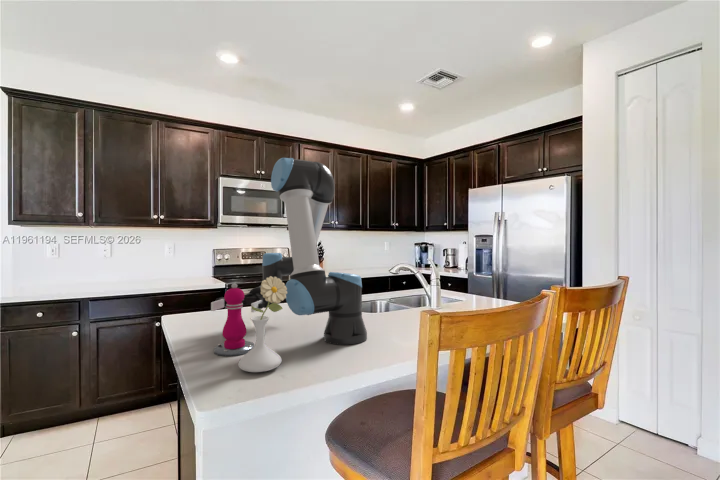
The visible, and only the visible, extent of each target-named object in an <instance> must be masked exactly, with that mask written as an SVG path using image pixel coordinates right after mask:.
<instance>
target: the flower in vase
mask: <svg viewBox="0 0 720 480" xmlns="http://www.w3.org/2000/svg"><path fill="white" fill-rule="evenodd" d="M285 285H286V283H284V282H283V279H282V280H280V279H279V278H278V279H277V277H274V278H273V277H272V276H270V277H269V278H266V280H264V281H263V280H262V281H261V284H260V286H262V287H261V292H260V293H261V294H262V295H263V297H264V298H265V300H266V301H269V302H271V303H272V304H271V305H269V302H268V305H267V307H266V308H264V310H263V309H257V308H255V307H253V306H252V309H253V310H255V311H256V312H259V313H262V315H256V316H255V315H254V316H252V317H250V320H251V322H252V323H253V327H254V329H255V331H254V332H255V343H254V347H253V348H252V349H251V350H250V351H249V352H248V353H246V354H243V355H242V357H241V358H240V360H239V362H238V364H237V365H238V367H239V369H240V370H242V371H244V372H249V373H263V372H267V371H268V372H269V371H271V370H274V369H276V368H277V367H279V366H280V365H281V363H282V362H283V361H282V357H281V355H279V354H278V353H277V352H276V351H274V350H273V349H271V348H270V347H269V346H268V345H267V344H266V342H265V332H266V331H265V330H266V325H267V322H268V320H269V319H270V316H267V315H265V314H266V311H267V310H268V309H269V310H270V311H271V312H273V313H277V312H280V311H281V310H283V306H282V305H280V303H281V302H282V301H284V300H286V294H287V291H286V290H287V288H286V286H285Z"/></svg>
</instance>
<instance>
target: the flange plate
mask: <svg viewBox="0 0 720 480" xmlns="http://www.w3.org/2000/svg"><path fill="white" fill-rule="evenodd" d="M254 346H255V343H254V342H253V341H249V340H245V346H244V347H241V348H237V349H226V348H225V347H224V342H223V343H218V344H217V345H216V346H214V348H213V349H214V350H213V353H214V355H216V356H217V357H238V356H244V355H245V354H246V353H248V352H249V351H250V350H251V349H252V348H253V347H254Z"/></svg>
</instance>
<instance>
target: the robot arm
mask: <svg viewBox="0 0 720 480" xmlns="http://www.w3.org/2000/svg"><path fill="white" fill-rule="evenodd" d="M270 183H271V184H270V185H271V188H272V190H273V191H274V192H276V193H278V196H279V199H280V200H281V201H282V202H283V203H284V206H285V213H286V221H287V229H288V236H289V242H290V243H289V244H290V251H291V252H290V253H291V256H283V254H282V252H266V253H264V254H263V255H262V263H261V265H262V268H261V269H262V281H264V280H266V278H269V277H270V276H272V277H273V278H274V277H277V279H278V278H279V279H280V280H282V281H283V277H284V276H285V277H286V276H287V277H288V276H289V280H287V282H286V283H285V285H284V286H286V288H287V290H286V291H287V294H286V298H285V301H286V303H287V306H288V309H290V310H291V312H292V313H293V314H295V315H296V316H310V315H314V314H321V313H322V314H323V313H328V318H327V321H326V326H325V327H324V331H323V340H324V342H326V343H329V344H333V345H344V346H345V345H354V344H355V345H356V344H361V343H364V342H365V341H367V339H368V331H367V328H366V325H365V321H364V319H363V298H362V297H363V296H362V295H363V292H362V291H363V283H362V277H361V276H360V275H359V274H356V273H348V272H336V271H329V272H328V274H327V275H326V271H325V269H324V268H323V267H321V265H320V259H319V253H318V246H317V244H318V240H319V237H320V234H321V231H322V227H323V224H324V220H325V219H326V218H325V217H326V214H327V210H328V208H329V205H330V204H332V203H333V200H334V197H335V190H336V189H335V188H336V187H335V179H334V176H333V173H332V172H331V169H329V168H328V167H327V166H326V165H325V164H324V163H321V162H320V161H311V160H304V159H296V158H294V157H281V158H279V159H278V160H277V161H276V162H275V163H274V165H273V168H272V171H271V177H270ZM261 287H262V286H261V285H259V286H256V287H253V288H252V289H251V290H249V292H248V293H246V294H244V299H243V301H242V303H243V305H242V306H247V305H248V306H250V309H251V310H250V313H255V312H257V311H255V310H253V309H252V306H253V307H255V308H257V309H261V310H263V309H266V307H267V305H268V302H269V301H266V300H265V298H264V297H263V295H262V294H261V293H260V292H261ZM226 304H227V302H226V301H225V299H224V297H223V296H221V297H217V298H216V299H215V301H212V302H210V311H211V312H215V311H216V310H220V309H221V310H222V309H223V308H225V307H226ZM271 304H272V303H271V302H269V305H271Z"/></svg>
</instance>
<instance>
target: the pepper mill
mask: <svg viewBox="0 0 720 480" xmlns="http://www.w3.org/2000/svg"><path fill="white" fill-rule="evenodd" d="M244 292H245V291H243V289H241V288H239V287H238V284H237V283H235V282H234V283H231V288H229V289H227V290H226V291H225V293H224V299H225V301H226V302H227V304H226V306H225V308H226V310H227V316H226V317H227V318H226V320H225V323H224V325H223V327H222V337H223V339H224V341H223V343H224V347H225V348H226V349H237V348H241V347H244V346H245V341H246V339H244V338H245V336H246V335H247V326H246V324H245V321H244V320H243V319H244V318H243V316H242V308H244V307H243V306H244V305H243V303H244V301H243V299H244V295H245V293H244ZM242 301H243V303H242Z"/></svg>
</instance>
